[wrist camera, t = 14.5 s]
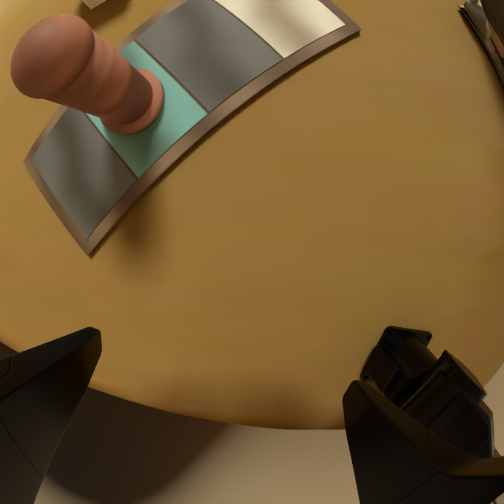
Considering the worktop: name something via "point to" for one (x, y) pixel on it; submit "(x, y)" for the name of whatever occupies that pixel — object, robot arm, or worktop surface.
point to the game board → (175, 100)
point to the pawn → (85, 75)
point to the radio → (488, 28)
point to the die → (93, 3)
